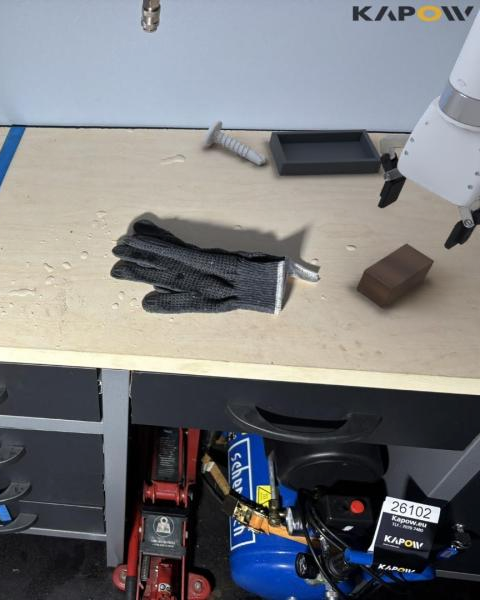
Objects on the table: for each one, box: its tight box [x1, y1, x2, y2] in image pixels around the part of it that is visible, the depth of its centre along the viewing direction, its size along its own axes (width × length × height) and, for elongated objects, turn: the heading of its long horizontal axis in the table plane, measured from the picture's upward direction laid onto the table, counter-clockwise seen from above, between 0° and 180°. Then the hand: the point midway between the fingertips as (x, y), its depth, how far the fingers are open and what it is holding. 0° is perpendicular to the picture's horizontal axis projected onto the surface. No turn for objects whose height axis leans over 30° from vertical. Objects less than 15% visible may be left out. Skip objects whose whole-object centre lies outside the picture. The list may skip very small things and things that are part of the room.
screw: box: [204, 120, 266, 166], centre depth 108 cm, size 5×12×5 cm
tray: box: [269, 128, 382, 176], centre depth 106 cm, size 17×10×2 cm, turn 89°
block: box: [355, 242, 435, 309], centre depth 85 cm, size 9×4×4 cm, turn 124°
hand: (418, 223), depth 77 cm, fingers open, 9 cm apart
